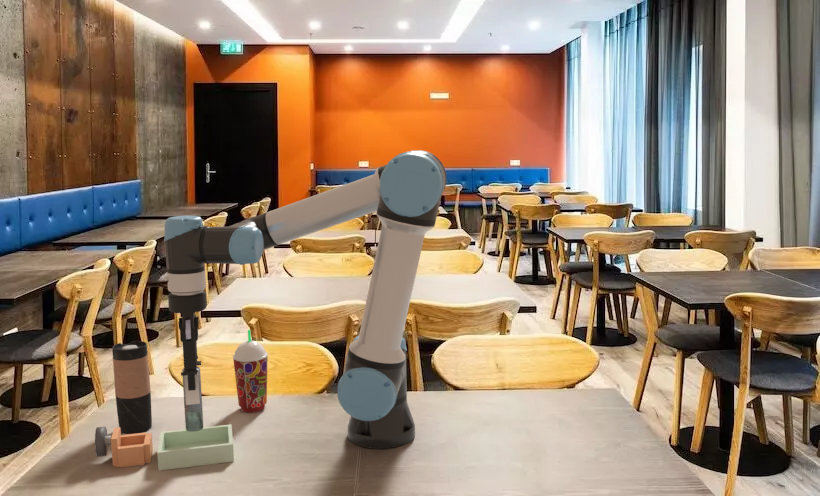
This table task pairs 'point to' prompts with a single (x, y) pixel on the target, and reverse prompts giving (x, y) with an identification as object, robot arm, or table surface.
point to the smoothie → (251, 375)
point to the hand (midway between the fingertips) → (193, 400)
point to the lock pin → (193, 410)
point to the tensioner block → (124, 447)
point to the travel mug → (132, 387)
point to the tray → (195, 447)
